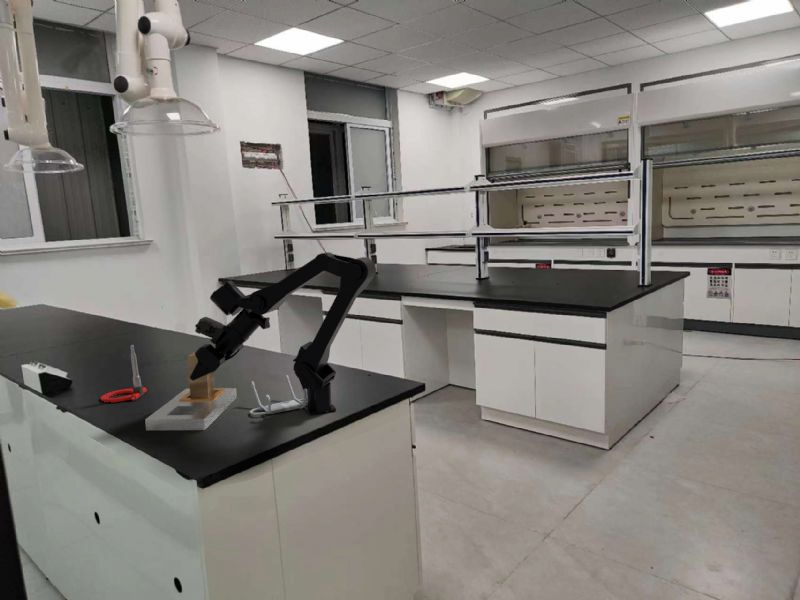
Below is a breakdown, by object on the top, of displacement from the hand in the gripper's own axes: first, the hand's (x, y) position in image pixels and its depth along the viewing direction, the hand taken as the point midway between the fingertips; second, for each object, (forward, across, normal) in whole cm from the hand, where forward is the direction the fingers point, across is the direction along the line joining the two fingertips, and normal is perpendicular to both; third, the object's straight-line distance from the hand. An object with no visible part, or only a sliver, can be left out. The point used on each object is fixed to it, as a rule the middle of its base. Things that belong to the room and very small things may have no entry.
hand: (198, 373), depth 136 cm
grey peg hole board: (+5, +6, +6) cm, 10 cm away
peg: (+5, 0, +6) cm, 8 cm away
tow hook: (+22, -6, -11) cm, 25 cm away
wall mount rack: (-8, +2, +20) cm, 22 cm away
